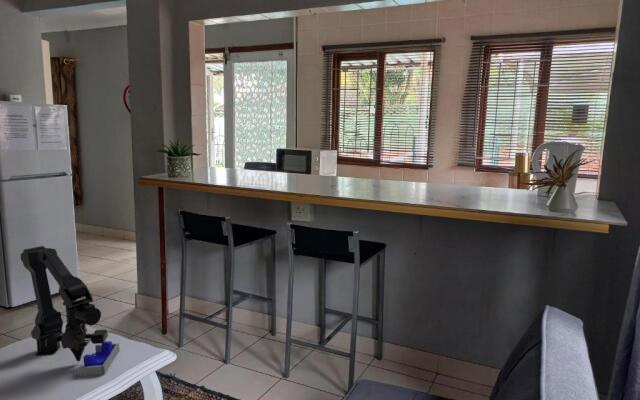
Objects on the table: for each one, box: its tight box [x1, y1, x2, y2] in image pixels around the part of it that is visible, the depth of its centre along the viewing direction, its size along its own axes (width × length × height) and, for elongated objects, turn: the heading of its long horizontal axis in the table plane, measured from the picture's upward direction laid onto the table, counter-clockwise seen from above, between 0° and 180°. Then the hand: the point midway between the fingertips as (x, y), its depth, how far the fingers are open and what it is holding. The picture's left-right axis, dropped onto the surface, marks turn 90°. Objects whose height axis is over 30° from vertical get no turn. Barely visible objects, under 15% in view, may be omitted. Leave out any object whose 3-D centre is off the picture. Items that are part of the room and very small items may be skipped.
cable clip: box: [83, 340, 113, 367], centre depth 161 cm, size 12×4×6 cm, turn 173°
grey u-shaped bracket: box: [77, 342, 121, 378], centre depth 162 cm, size 8×18×3 cm, turn 8°
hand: (78, 360), depth 162 cm, fingers closed
